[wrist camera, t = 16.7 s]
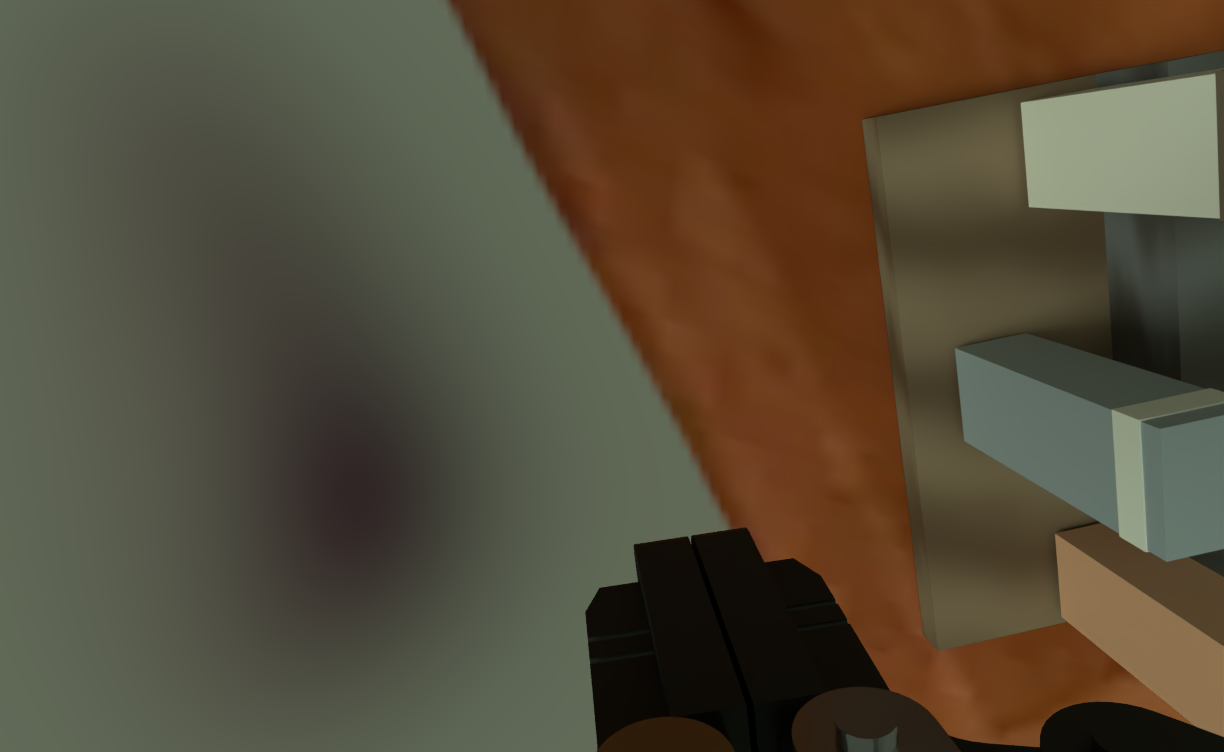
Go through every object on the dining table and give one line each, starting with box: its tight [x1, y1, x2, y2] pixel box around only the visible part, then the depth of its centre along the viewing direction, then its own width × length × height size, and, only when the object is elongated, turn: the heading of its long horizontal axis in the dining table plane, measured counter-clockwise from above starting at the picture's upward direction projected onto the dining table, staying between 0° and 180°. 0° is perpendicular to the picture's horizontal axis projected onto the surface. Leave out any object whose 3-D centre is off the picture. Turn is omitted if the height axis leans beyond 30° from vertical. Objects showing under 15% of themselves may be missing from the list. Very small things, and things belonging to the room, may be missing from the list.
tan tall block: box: [1055, 523, 1224, 737], centre depth 33 cm, size 4×3×12 cm
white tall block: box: [1021, 68, 1224, 221], centre depth 29 cm, size 4×3×12 cm
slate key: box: [955, 333, 1224, 562], centre depth 31 cm, size 4×3×12 cm
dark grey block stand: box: [862, 50, 1224, 651], centre depth 36 cm, size 23×11×6 cm, turn 11°
